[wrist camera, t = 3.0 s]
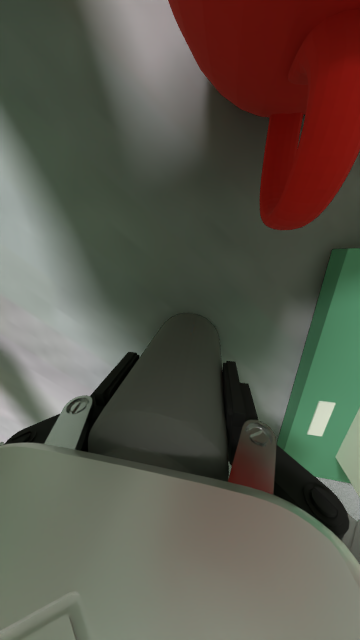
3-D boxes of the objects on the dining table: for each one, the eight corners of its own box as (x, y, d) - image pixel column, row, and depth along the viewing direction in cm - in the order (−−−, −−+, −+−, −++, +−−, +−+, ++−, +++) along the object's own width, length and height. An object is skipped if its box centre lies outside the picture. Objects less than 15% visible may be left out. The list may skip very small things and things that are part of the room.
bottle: (233, 340, 16) (392, 1017, 2) (192, 376, 18) (120, 794, 4) (184, 299, 15) (-146, 816, 1) (148, 341, 17) (-109, 689, 3)
